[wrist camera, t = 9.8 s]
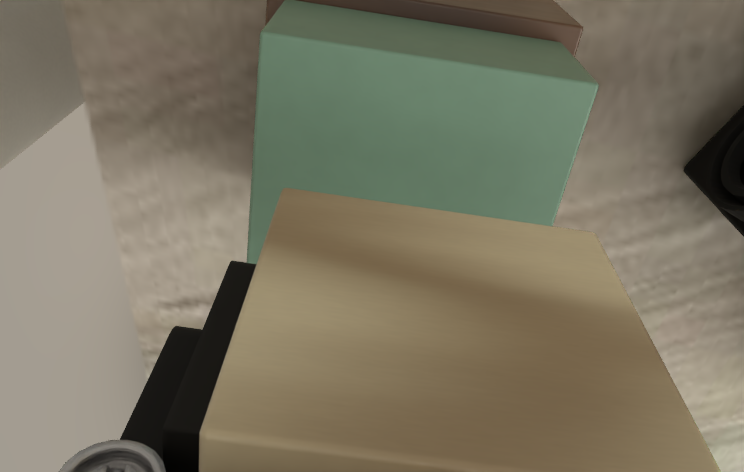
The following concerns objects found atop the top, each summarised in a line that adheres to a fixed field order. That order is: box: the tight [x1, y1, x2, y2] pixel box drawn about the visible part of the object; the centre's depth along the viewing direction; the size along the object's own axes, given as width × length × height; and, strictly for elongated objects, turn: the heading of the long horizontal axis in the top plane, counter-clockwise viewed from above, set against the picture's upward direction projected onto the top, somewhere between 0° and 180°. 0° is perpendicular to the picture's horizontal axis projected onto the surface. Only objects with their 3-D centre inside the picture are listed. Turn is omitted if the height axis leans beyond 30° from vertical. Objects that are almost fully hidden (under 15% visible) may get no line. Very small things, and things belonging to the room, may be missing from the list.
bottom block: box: [265, 0, 583, 57], centre depth 23 cm, size 9×9×5 cm
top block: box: [247, 0, 599, 264], centre depth 19 cm, size 8×8×4 cm
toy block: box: [199, 188, 721, 472], centre depth 10 cm, size 6×6×6 cm
